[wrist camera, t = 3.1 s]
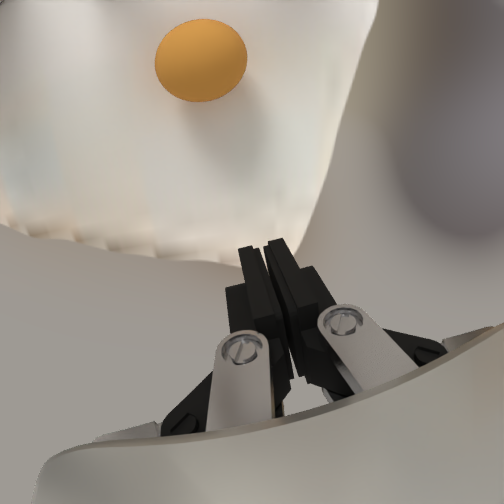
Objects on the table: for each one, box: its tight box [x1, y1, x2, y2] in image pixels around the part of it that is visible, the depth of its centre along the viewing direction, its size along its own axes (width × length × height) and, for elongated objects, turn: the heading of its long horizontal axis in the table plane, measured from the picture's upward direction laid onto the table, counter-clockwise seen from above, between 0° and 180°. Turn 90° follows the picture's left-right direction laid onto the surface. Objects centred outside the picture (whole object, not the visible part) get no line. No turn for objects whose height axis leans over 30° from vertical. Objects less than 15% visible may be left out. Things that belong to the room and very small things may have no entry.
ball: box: [155, 19, 247, 102], centre depth 15 cm, size 6×6×6 cm
